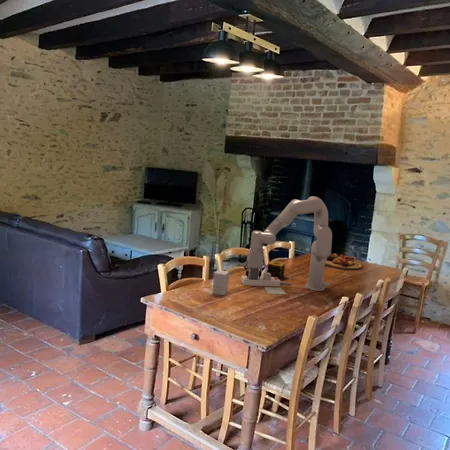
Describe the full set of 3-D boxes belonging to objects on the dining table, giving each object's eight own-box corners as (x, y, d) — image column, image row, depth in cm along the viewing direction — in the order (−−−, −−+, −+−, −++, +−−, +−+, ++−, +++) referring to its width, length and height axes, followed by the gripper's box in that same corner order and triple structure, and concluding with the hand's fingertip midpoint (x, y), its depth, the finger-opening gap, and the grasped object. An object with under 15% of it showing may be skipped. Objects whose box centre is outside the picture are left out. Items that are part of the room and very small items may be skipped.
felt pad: (281, 288, 265) (281, 287, 265) (285, 294, 254) (286, 293, 254) (264, 288, 263) (264, 287, 263) (268, 293, 252) (268, 293, 252)
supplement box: (227, 292, 250) (229, 271, 248) (223, 295, 243) (225, 274, 241) (216, 289, 252) (218, 269, 250) (211, 293, 245) (213, 272, 243)
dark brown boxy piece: (265, 277, 286) (267, 263, 285) (269, 274, 296) (271, 260, 294) (280, 280, 283) (281, 266, 281) (283, 276, 292) (285, 263, 290)
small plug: (268, 280, 274) (269, 272, 273) (270, 282, 270) (271, 274, 269) (262, 279, 273) (263, 272, 272) (264, 281, 269) (265, 274, 269)
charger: (256, 279, 273) (257, 266, 272) (257, 281, 268) (258, 269, 267) (248, 279, 272) (249, 266, 271) (250, 281, 267) (251, 268, 266)
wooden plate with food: (360, 273, 320) (362, 262, 319) (318, 265, 331) (319, 255, 330) (362, 264, 350) (364, 255, 348) (324, 258, 361) (325, 248, 359)
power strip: (288, 282, 278) (289, 276, 278) (291, 286, 271) (292, 280, 270) (241, 281, 273) (241, 274, 273) (243, 285, 266) (243, 278, 265)
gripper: (267, 249, 272) (265, 275, 275) (241, 248, 269) (239, 274, 272) (270, 252, 265) (267, 279, 268) (243, 251, 262) (241, 278, 265)
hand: (253, 276), depth 270 cm, fingers open, 7 cm apart
